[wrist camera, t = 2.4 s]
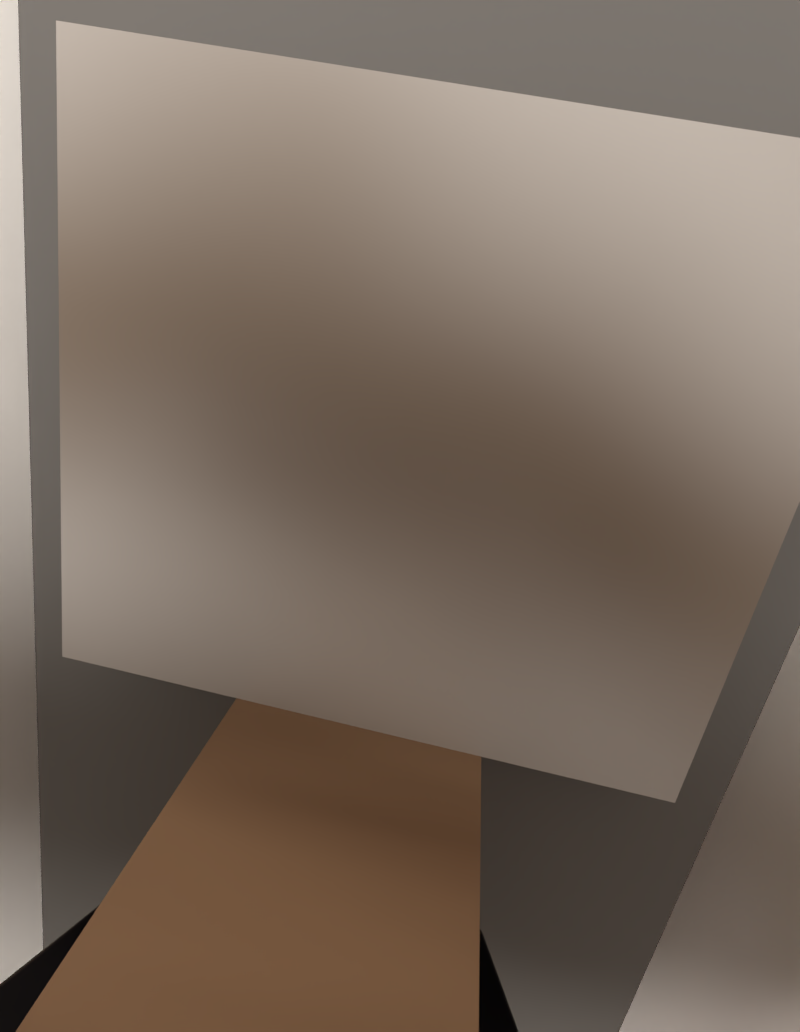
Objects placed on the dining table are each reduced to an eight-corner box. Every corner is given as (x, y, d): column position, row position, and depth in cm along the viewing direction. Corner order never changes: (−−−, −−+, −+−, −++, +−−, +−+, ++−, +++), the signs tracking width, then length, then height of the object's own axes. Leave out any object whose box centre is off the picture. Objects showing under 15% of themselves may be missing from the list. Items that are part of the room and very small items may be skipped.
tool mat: (66, 1004, 12) (46, 1036, 12) (55, -97, 7) (13, -138, 6) (547, 1141, 12) (551, 1183, 11) (1015, 40, 6) (1074, 11, 5)
